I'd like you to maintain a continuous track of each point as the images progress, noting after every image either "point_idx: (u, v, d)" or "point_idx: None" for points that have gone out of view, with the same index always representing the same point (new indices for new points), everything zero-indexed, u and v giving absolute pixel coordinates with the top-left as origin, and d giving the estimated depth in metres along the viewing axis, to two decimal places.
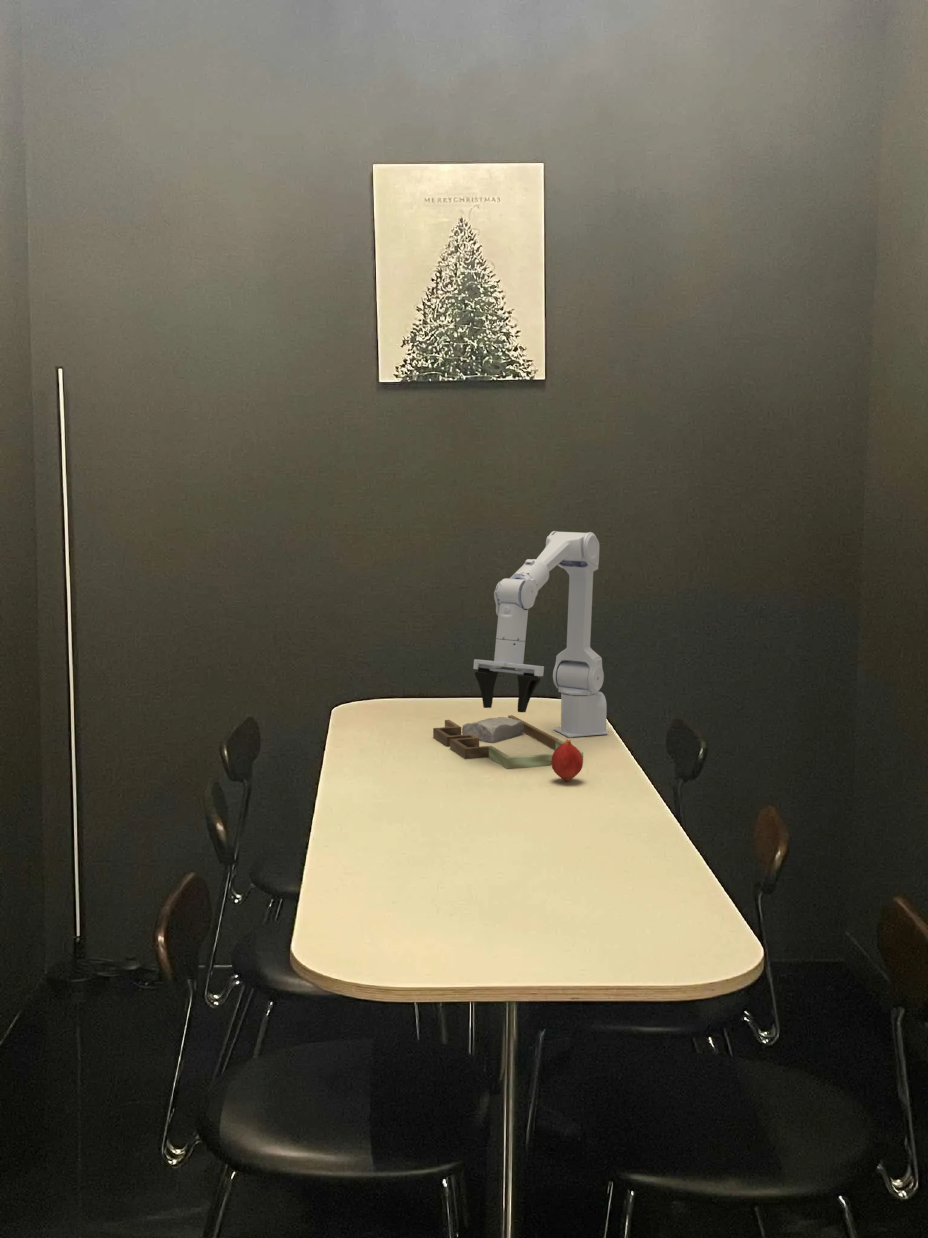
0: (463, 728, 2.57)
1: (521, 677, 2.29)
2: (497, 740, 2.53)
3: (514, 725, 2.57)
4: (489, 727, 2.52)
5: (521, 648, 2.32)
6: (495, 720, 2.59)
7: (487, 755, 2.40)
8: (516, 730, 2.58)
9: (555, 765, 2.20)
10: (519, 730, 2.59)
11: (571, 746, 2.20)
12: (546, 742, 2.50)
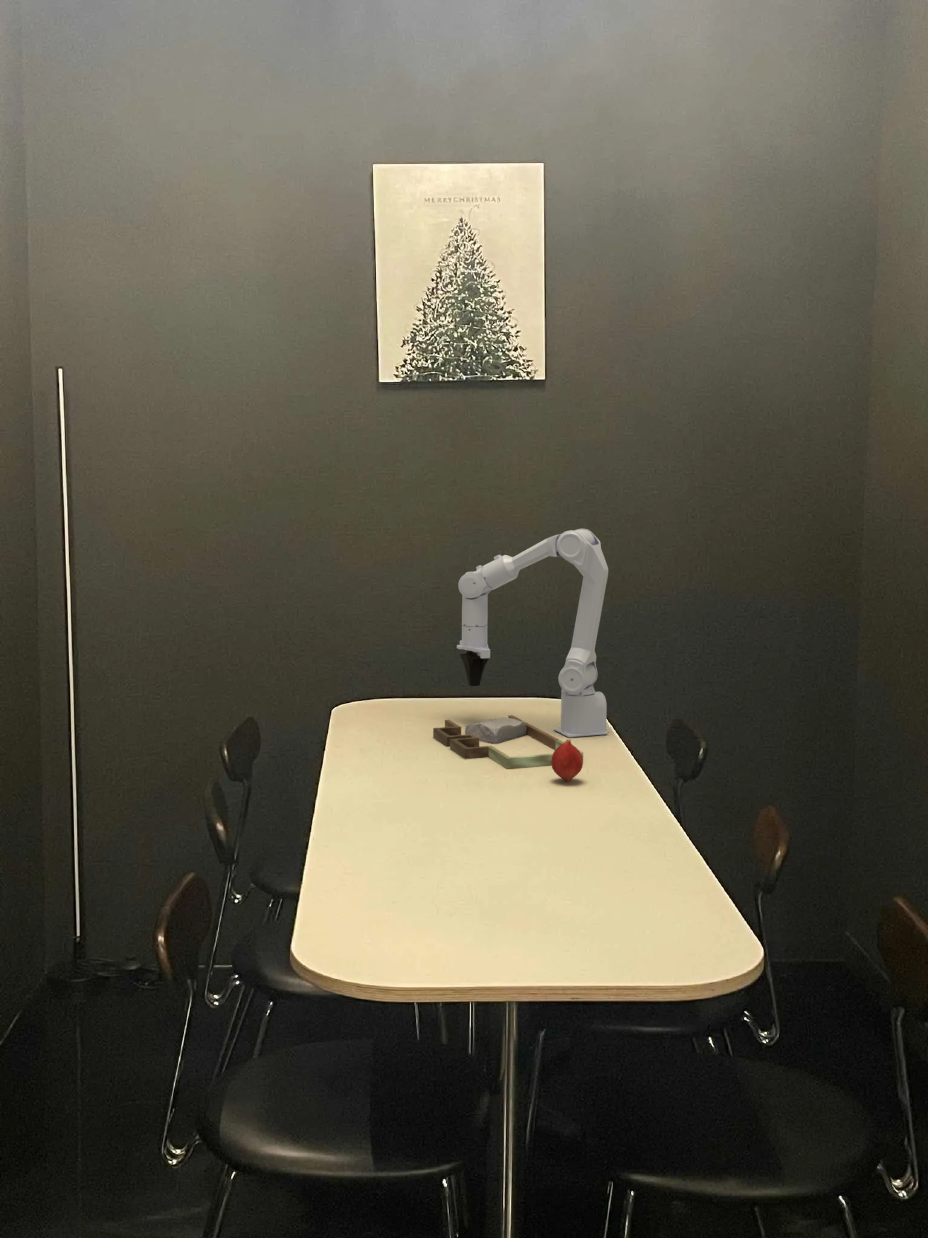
0: (466, 729, 2.56)
1: (464, 657, 2.67)
2: (500, 741, 2.52)
3: (517, 725, 2.56)
4: (492, 727, 2.51)
5: (477, 633, 2.65)
6: (498, 721, 2.59)
7: (487, 755, 2.40)
8: (519, 730, 2.57)
9: (555, 765, 2.20)
10: (522, 731, 2.58)
11: (571, 746, 2.20)
12: (546, 742, 2.50)
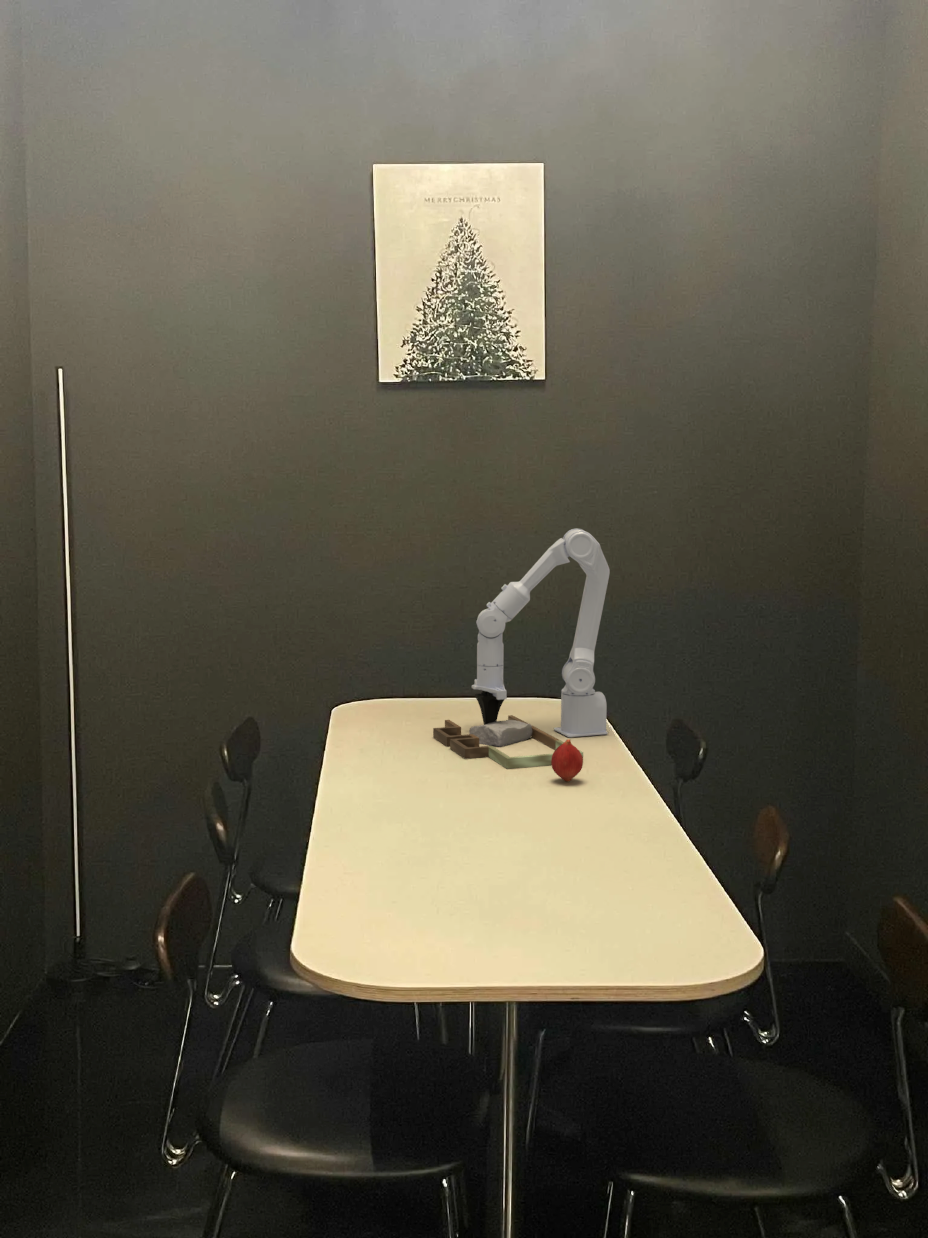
0: (470, 731, 2.53)
1: (479, 697, 2.58)
2: (504, 743, 2.49)
3: (522, 728, 2.53)
4: (496, 730, 2.48)
5: (493, 673, 2.57)
6: (503, 723, 2.56)
7: (487, 755, 2.40)
8: (524, 733, 2.54)
9: (555, 765, 2.20)
10: (527, 733, 2.55)
11: (571, 746, 2.20)
12: (546, 742, 2.50)
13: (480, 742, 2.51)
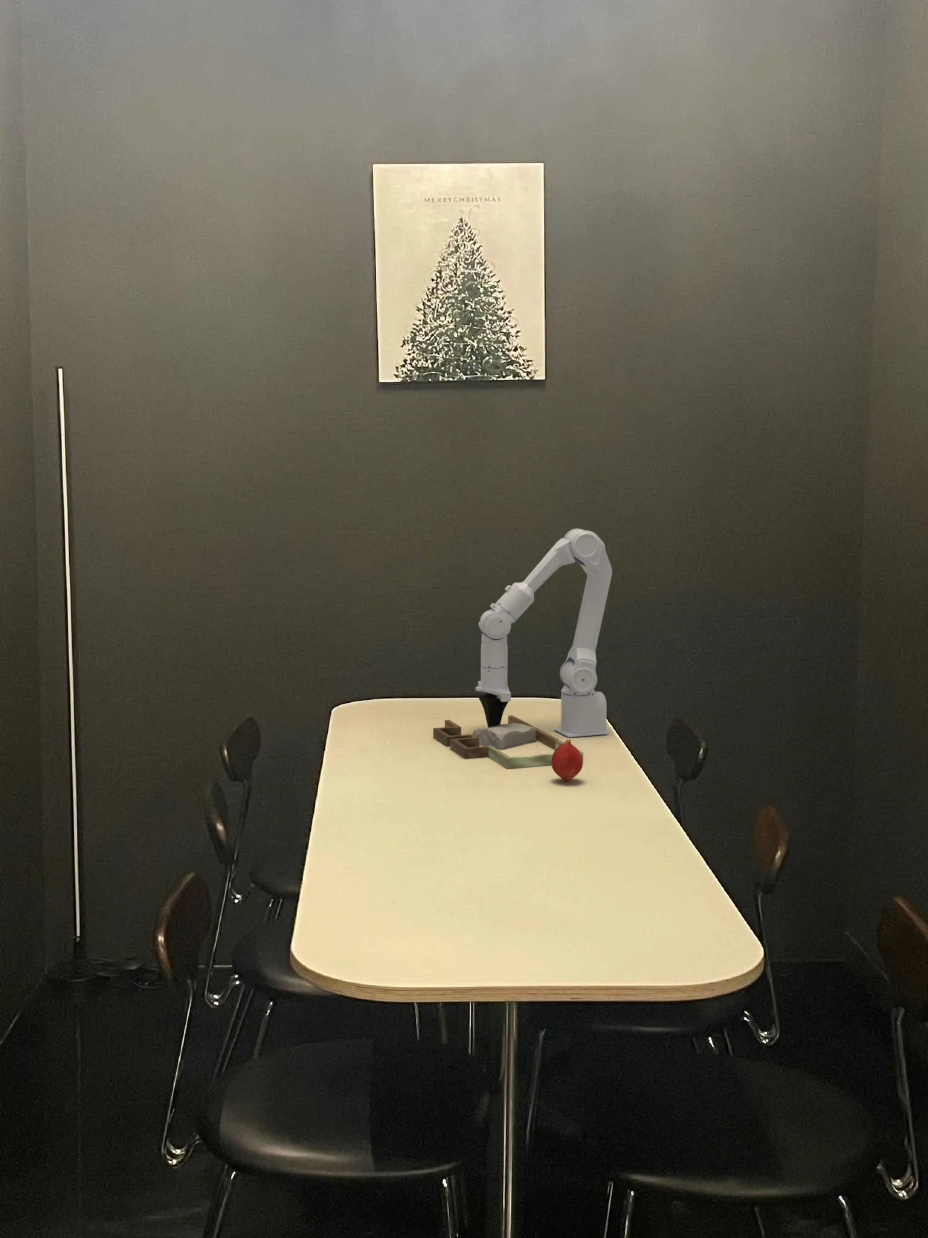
0: (473, 734, 2.52)
1: (483, 699, 2.56)
2: (507, 747, 2.47)
3: (526, 731, 2.51)
4: (498, 733, 2.46)
5: (497, 675, 2.55)
6: (507, 726, 2.53)
7: (487, 755, 2.40)
8: (528, 736, 2.51)
9: (555, 765, 2.20)
10: (531, 737, 2.52)
11: (571, 746, 2.20)
12: (546, 742, 2.50)
13: (483, 745, 2.49)
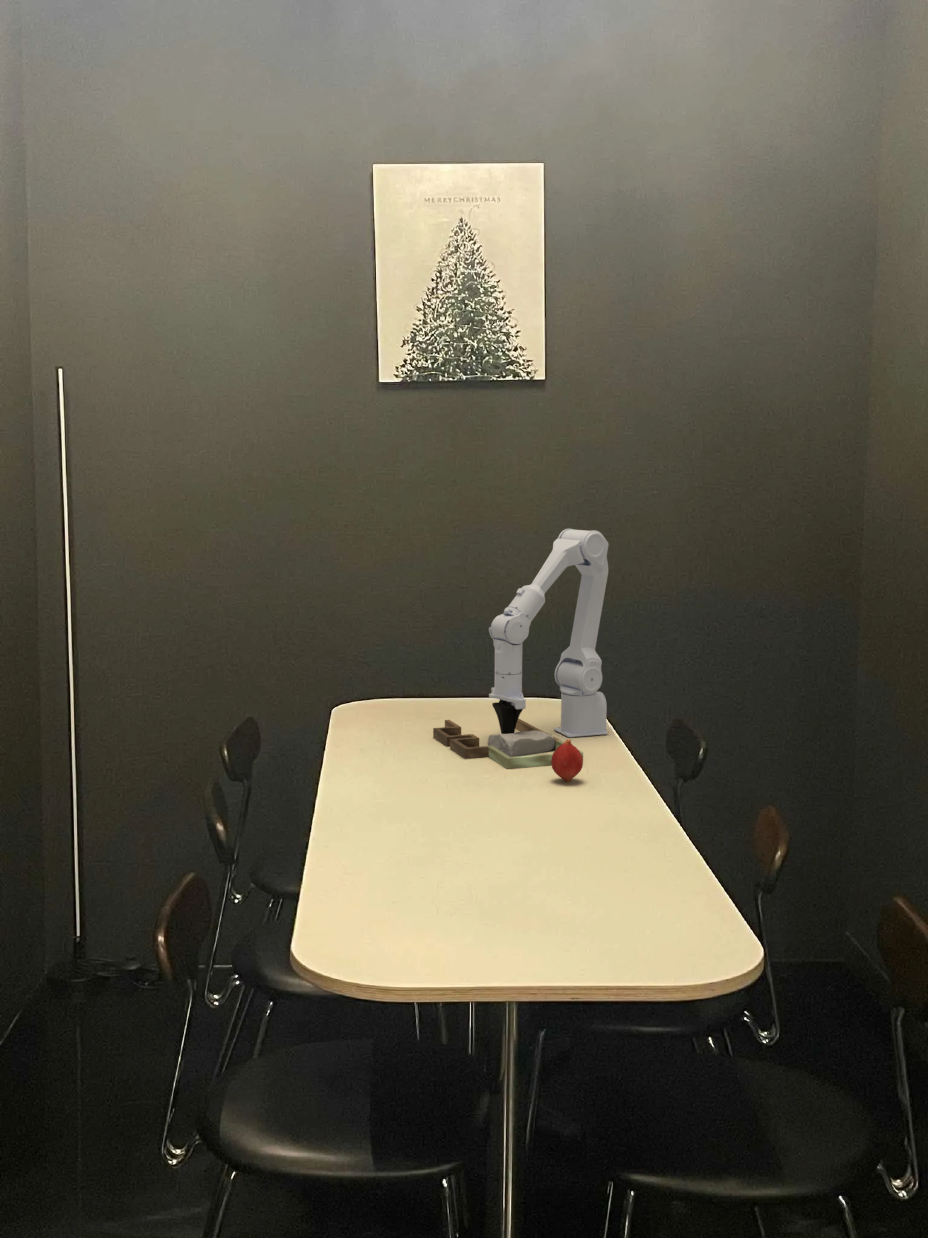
0: (488, 739, 2.46)
1: (497, 706, 2.49)
2: (517, 754, 2.40)
3: (541, 740, 2.43)
4: (508, 740, 2.40)
5: (511, 681, 2.47)
6: (524, 733, 2.46)
7: (487, 755, 2.40)
8: (543, 745, 2.44)
9: (555, 765, 2.20)
10: (547, 745, 2.44)
11: (571, 746, 2.20)
12: None
13: None
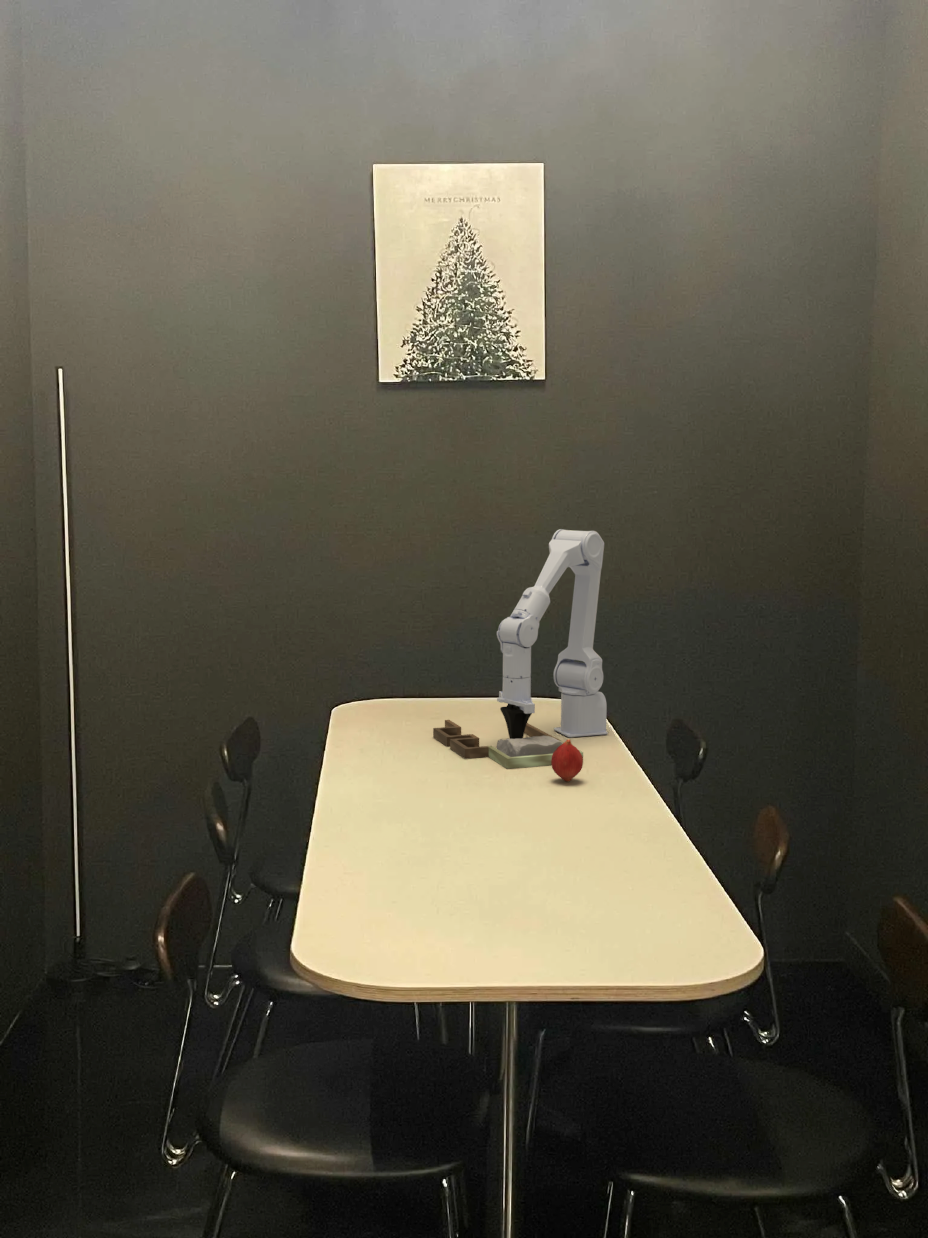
0: (497, 744, 2.42)
1: (505, 711, 2.44)
2: None
3: (550, 745, 2.39)
4: (515, 745, 2.36)
5: (520, 685, 2.43)
6: (534, 738, 2.42)
7: (487, 755, 2.40)
8: (552, 751, 2.39)
9: (555, 765, 2.20)
10: None
11: (571, 746, 2.20)
12: None
13: None
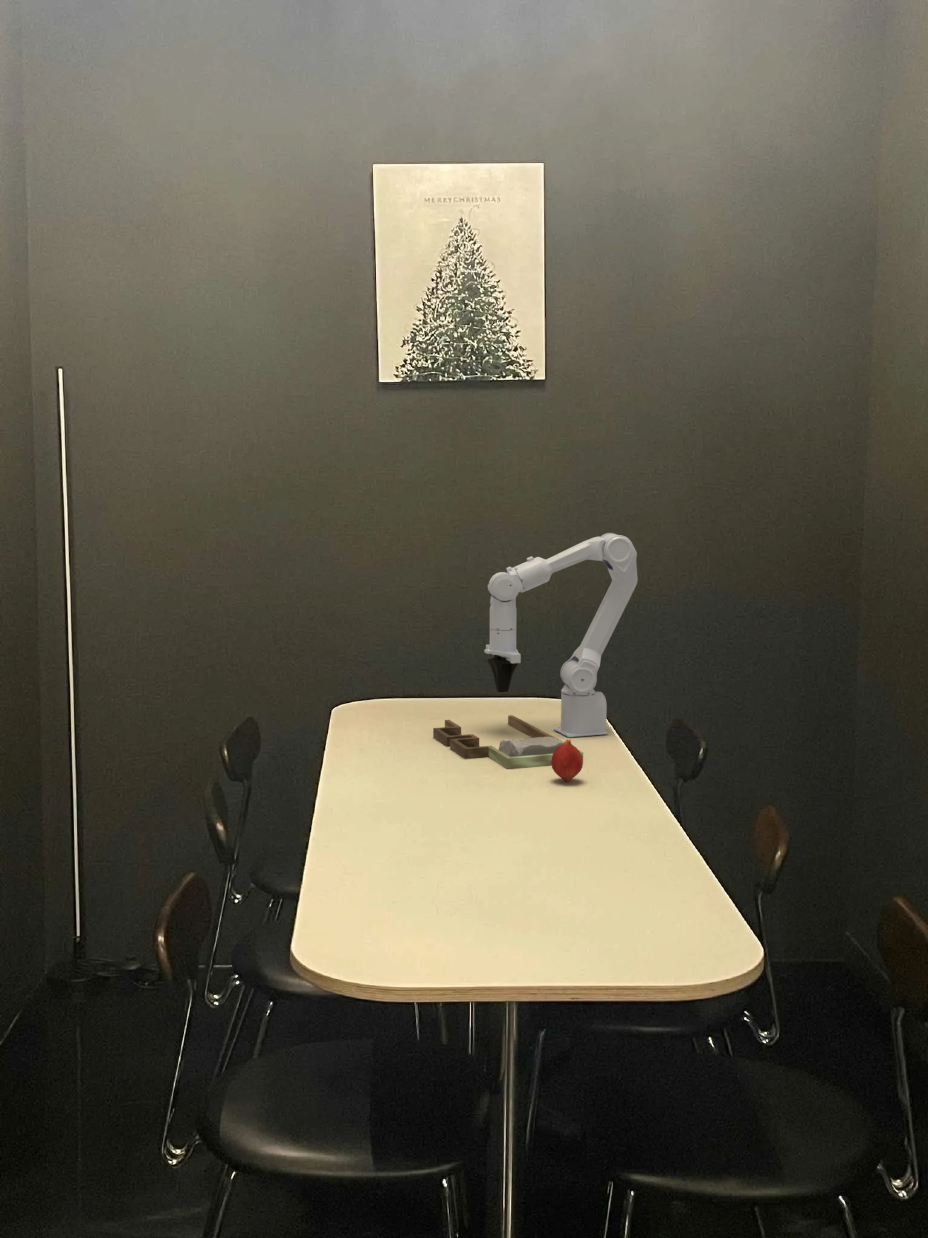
0: (499, 745, 2.42)
1: (492, 662, 2.56)
2: None
3: (552, 746, 2.38)
4: (518, 746, 2.35)
5: (506, 637, 2.54)
6: (536, 739, 2.41)
7: (487, 755, 2.40)
8: None
9: (555, 765, 2.20)
10: None
11: (571, 746, 2.20)
12: None
13: None
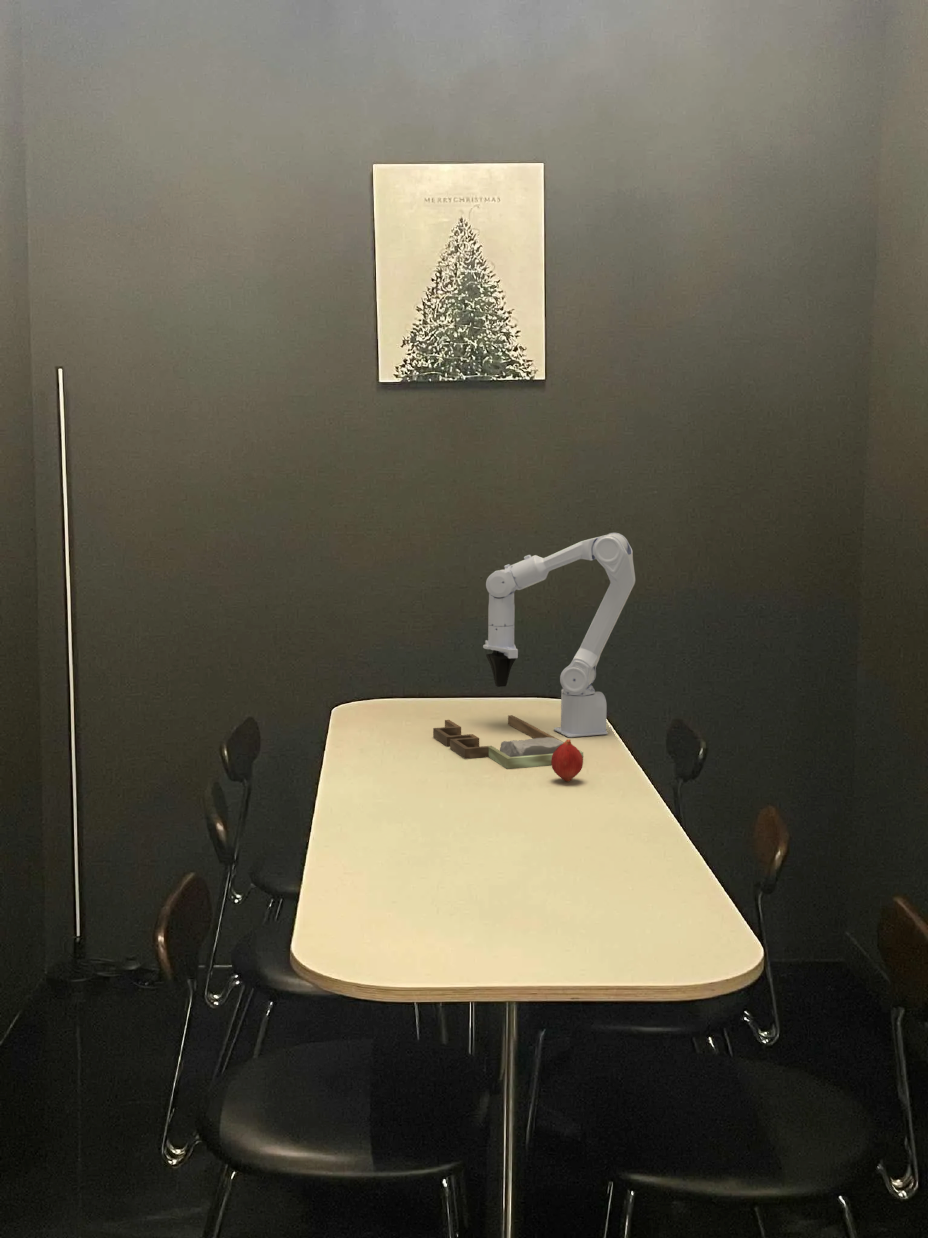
0: (501, 746, 2.41)
1: (491, 657, 2.62)
2: None
3: (553, 747, 2.37)
4: (519, 746, 2.34)
5: (504, 633, 2.61)
6: (537, 740, 2.41)
7: (487, 755, 2.40)
8: None
9: (555, 765, 2.20)
10: None
11: (571, 746, 2.20)
12: None
13: None
